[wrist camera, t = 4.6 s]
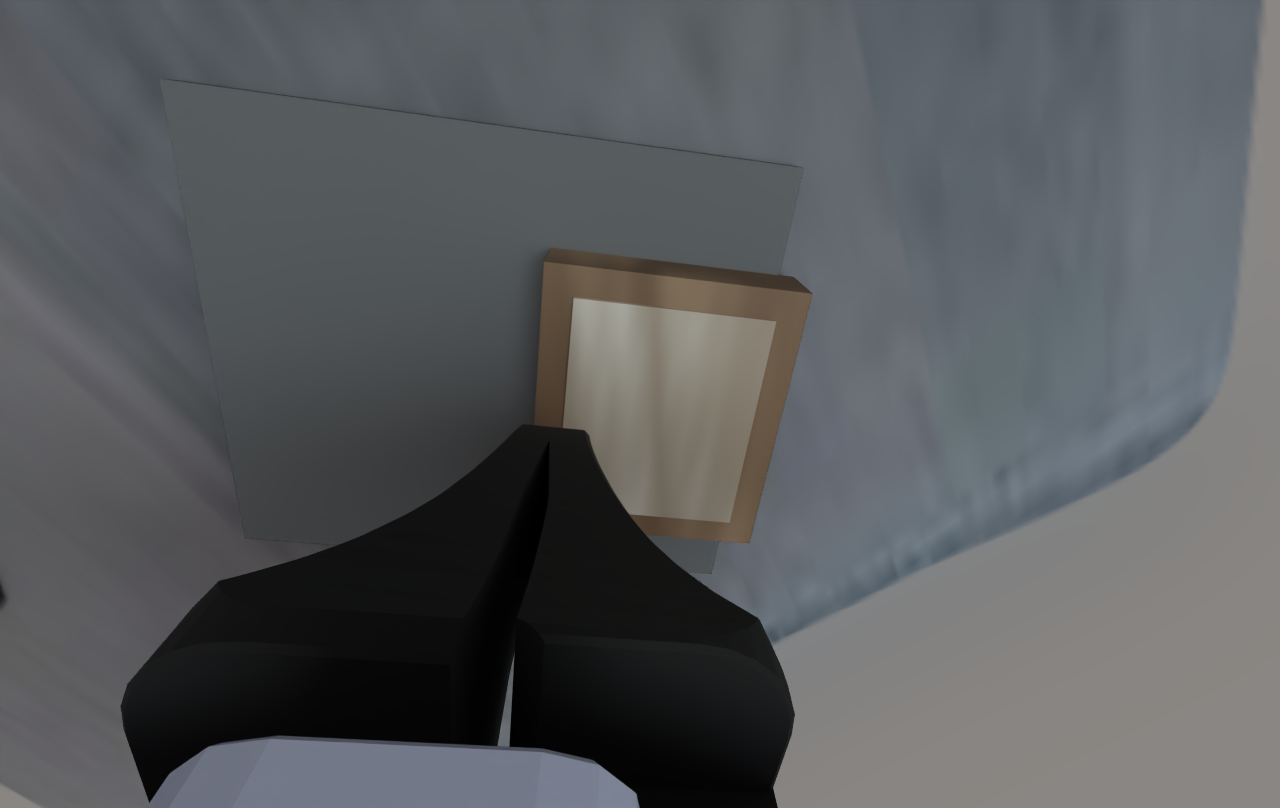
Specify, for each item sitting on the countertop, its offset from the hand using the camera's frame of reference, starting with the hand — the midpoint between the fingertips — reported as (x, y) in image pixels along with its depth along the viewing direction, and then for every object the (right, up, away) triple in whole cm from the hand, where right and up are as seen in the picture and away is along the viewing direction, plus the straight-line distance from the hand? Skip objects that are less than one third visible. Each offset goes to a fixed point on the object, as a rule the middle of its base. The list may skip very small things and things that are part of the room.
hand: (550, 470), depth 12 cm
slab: (-1, +2, +3) cm, 4 cm away
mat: (-2, +2, +4) cm, 5 cm away
